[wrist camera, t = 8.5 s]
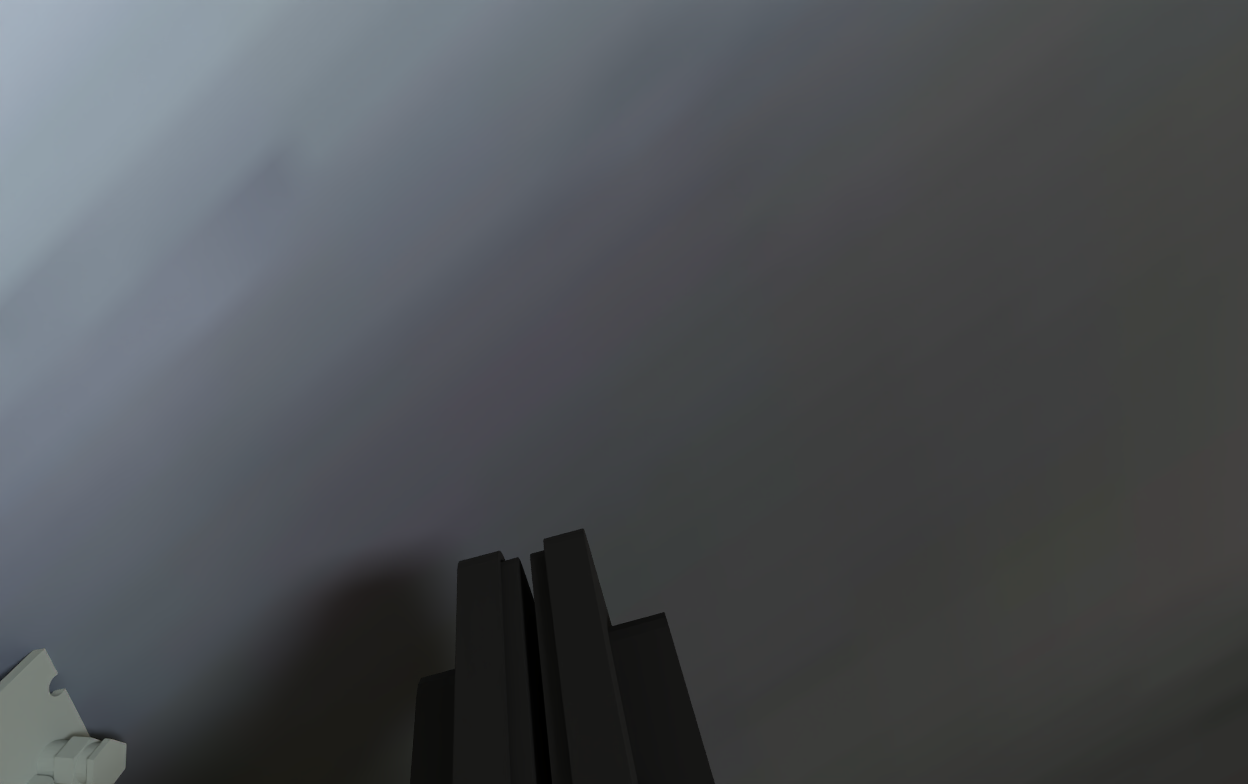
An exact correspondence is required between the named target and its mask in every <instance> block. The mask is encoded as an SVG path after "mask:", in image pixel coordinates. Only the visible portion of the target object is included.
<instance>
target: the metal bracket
mask: <svg viewBox="0 0 1248 784" xmlns="http://www.w3.org/2000/svg"><path fill="white" fill-rule="evenodd" d="M57 674H58V673H57V671H56V669H55V667H54V665H53V663H52V661H51V659H50V657H49V655H48V654H47V652H46V650H45V648H44V649H38V650H33V651H32V652H31V653H30V654H29V655H27V656H26V657H25V658H24V659H23V660H22V661H21V662H20V663H19V664H18V665H17V666H16V667H15V668H14V669H13V670H12V671H11V672H10V673H9V674H8V675H7V676H6V677H5V678H3V679H2V680H1V681H0V784H114V783H115V781H116V780H117V779H118V777H119V776H120V775H121V774H122V772H123V771H124V770H125V768H126V743H123V742H120V741H116V740H113V739H106V738H105V739H104V740H103V741H101V740H98V739H95V738H91V737H90V736H89V734H88V732H87V730H86V728H85V726H84V724H83V722H82V720H81V718H80V716H79V714H78V712H77V710H76V708H75V706H74V704H73V702H72V700H71V698H70V697H69V695H68V693H67V691H66V689H65V688H64V689H60V690H55V691H53V693H51V694H50V692H49V685H50V682H51V680H52V679H53V678H54V677H55V676H56V675H57Z"/></svg>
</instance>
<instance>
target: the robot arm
mask: <svg viewBox="0 0 1248 784" xmlns="http://www.w3.org/2000/svg"><path fill="white" fill-rule="evenodd" d="M543 542H544V551H540V552H536V553H532V554H531V555H530V560H531V571H532V581H533V591H534V599H533V596H532V593H531V590H530V587H529V584H528V581H527V578H526V575H525V572H524V569H523V566H522V564H521V561H520V559H519V558H518V557H517V558H514V559H510V560H506V561H505V559H504V556H503V554H502V553H501V551H497V552H493V553H489V554H485V555H482V556H478V557H474V558H470V559H466V560H463V561H459V563H458V569H457V612H456V656H455V669H453V670H449V671H446V672H442V673H438V674H435V675H431V676H427V677H424V678H421V680H420V682H419V684H418V690H417V698H416V711H415V725H414V738H413V752H412V766H411V779H410V784H715V783H714V779H713V776H712V772H711V769H710V766H709V762H708V759H707V755H706V752H705V749H704V745H703V742H702V738H701V735H700V732H699V728H698V725H697V721H696V718H695V714H694V711H693V708H692V704H691V701H690V697H689V694H688V691H687V687H686V684H685V680H684V677H683V674H682V670H681V667H680V663H679V660H678V656H677V653H676V650H675V646H674V643H673V639H672V636H671V633H670V629H669V626H668V622H667V619H666V616H665V613H664V612H663V613H659V614H656V615H652V616H648V617H645V618H641V619H637V620H634V621H630V622H626V623H623V624H619V625H615V626H612V625H611V621H610V618H609V614H608V611H607V607H606V604H605V600H604V597H603V593H602V590H601V586H600V583H599V579H598V576H597V572H596V569H595V565H594V562H593V558H592V555H591V551H590V548H589V544H588V541H587V538H586V534H585V531H584V529H580V530H576V531H572V532H568V533H564V534H561V535H557V536H553V537H549V538H546V539H544V541H543ZM534 601H535V602H534Z"/></svg>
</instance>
